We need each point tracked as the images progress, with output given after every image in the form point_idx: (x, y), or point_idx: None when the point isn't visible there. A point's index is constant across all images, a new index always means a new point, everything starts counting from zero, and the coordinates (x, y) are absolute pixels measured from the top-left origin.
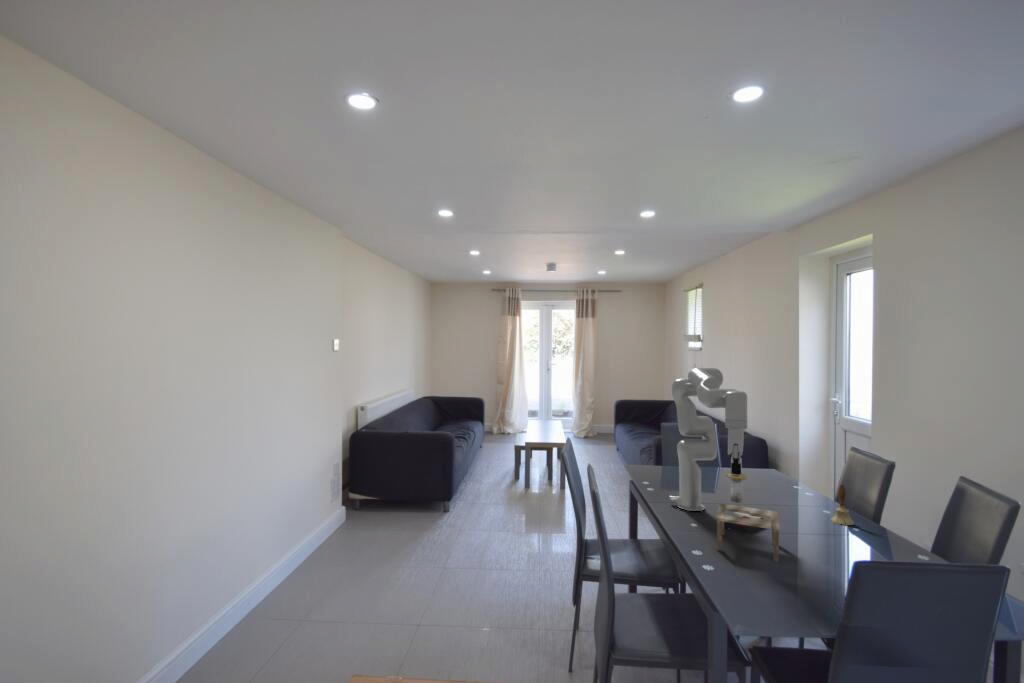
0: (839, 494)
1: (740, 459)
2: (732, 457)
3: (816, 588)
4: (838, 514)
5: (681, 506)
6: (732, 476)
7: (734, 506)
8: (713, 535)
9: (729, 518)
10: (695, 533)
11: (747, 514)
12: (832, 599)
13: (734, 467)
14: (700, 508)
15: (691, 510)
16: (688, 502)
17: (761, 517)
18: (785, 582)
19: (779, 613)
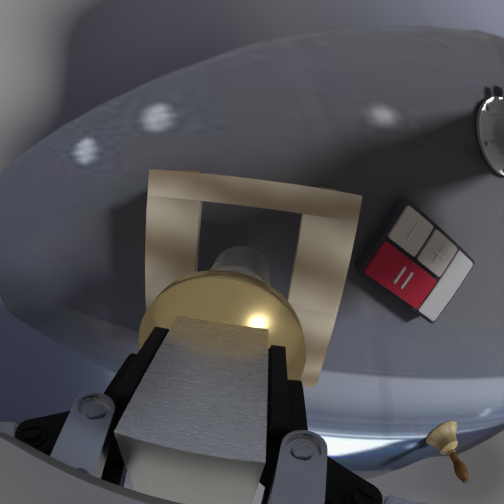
0: (459, 466)
1: (148, 492)
2: (59, 447)
3: (96, 343)
4: (444, 439)
5: (491, 107)
6: (143, 318)
7: (336, 257)
8: (310, 165)
9: (160, 220)
10: (307, 112)
11: (449, 287)
12: (75, 350)
13: (114, 382)
14: (494, 160)
15: (478, 130)
16: (497, 123)
17: (432, 320)
18: (89, 299)
19: (5, 264)
